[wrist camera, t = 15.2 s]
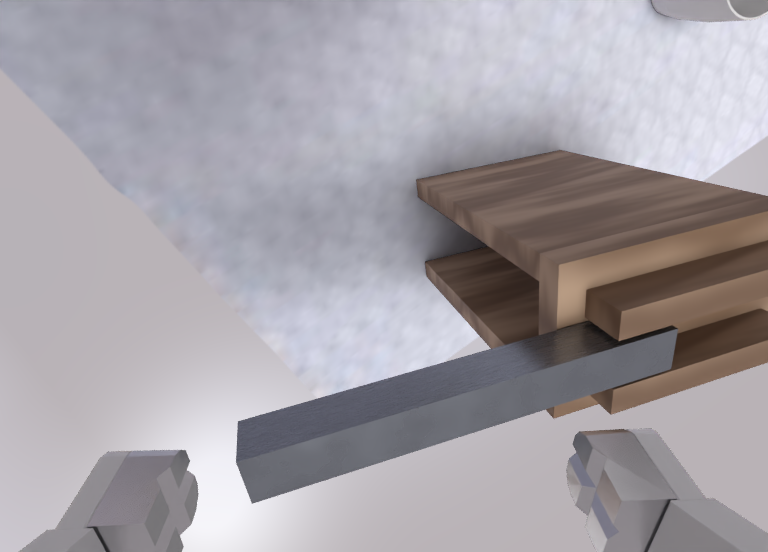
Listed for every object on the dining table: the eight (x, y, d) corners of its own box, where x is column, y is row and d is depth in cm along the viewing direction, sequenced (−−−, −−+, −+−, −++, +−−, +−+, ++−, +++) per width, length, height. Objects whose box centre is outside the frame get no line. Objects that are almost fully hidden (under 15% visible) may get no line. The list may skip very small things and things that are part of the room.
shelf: (416, 179, 50) (593, 285, 24) (560, 150, 53) (852, 214, 27) (426, 276, 55) (581, 449, 29) (557, 244, 58) (800, 373, 32)
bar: (237, 421, 25) (236, 462, 22) (639, 306, 29) (678, 328, 27) (252, 460, 26) (252, 503, 23) (635, 344, 31) (671, 369, 28)
